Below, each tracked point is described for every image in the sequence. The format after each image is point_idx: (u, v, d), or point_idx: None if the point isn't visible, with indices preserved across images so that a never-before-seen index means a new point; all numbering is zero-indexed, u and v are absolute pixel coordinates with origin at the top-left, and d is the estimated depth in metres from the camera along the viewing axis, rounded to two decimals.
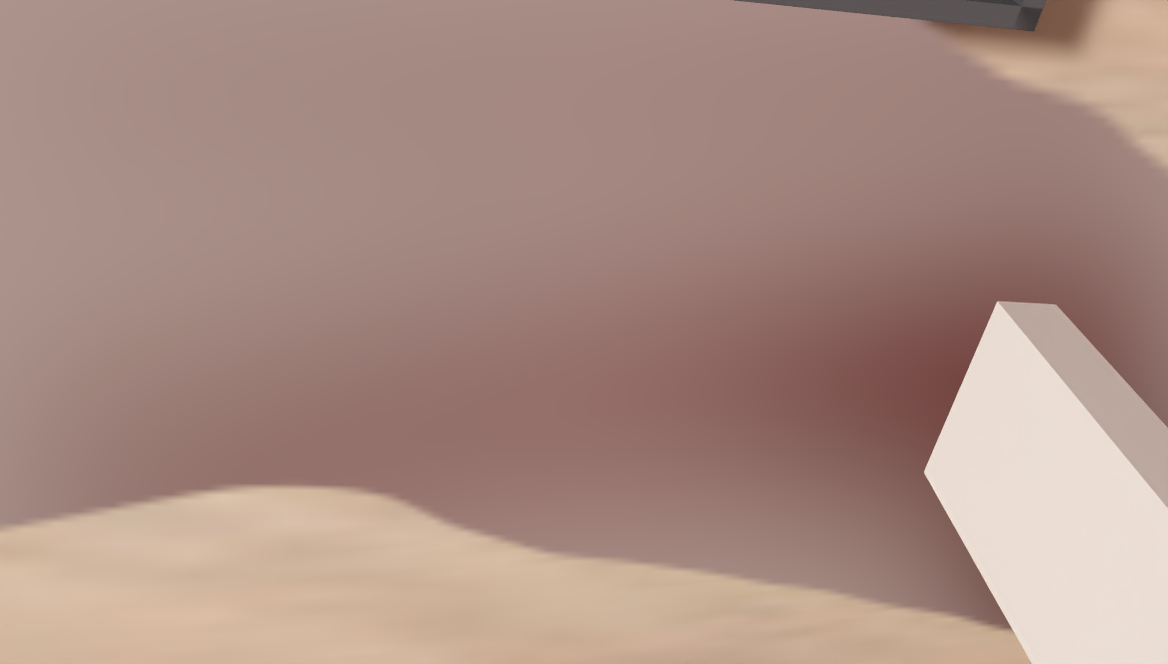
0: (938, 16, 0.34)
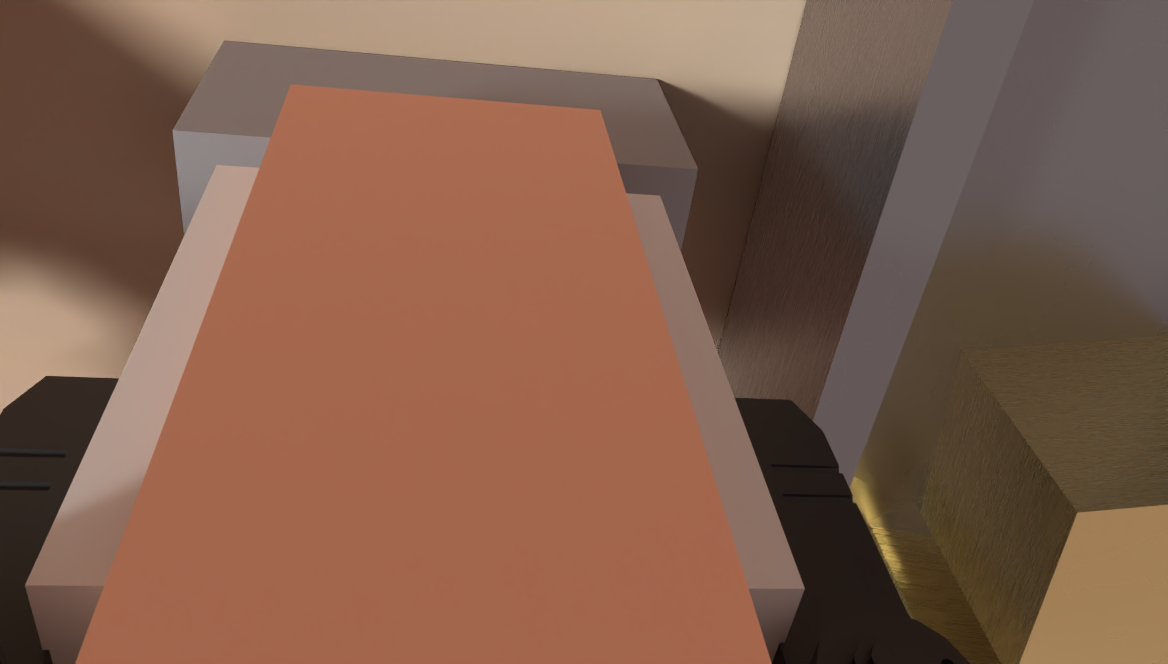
0: None
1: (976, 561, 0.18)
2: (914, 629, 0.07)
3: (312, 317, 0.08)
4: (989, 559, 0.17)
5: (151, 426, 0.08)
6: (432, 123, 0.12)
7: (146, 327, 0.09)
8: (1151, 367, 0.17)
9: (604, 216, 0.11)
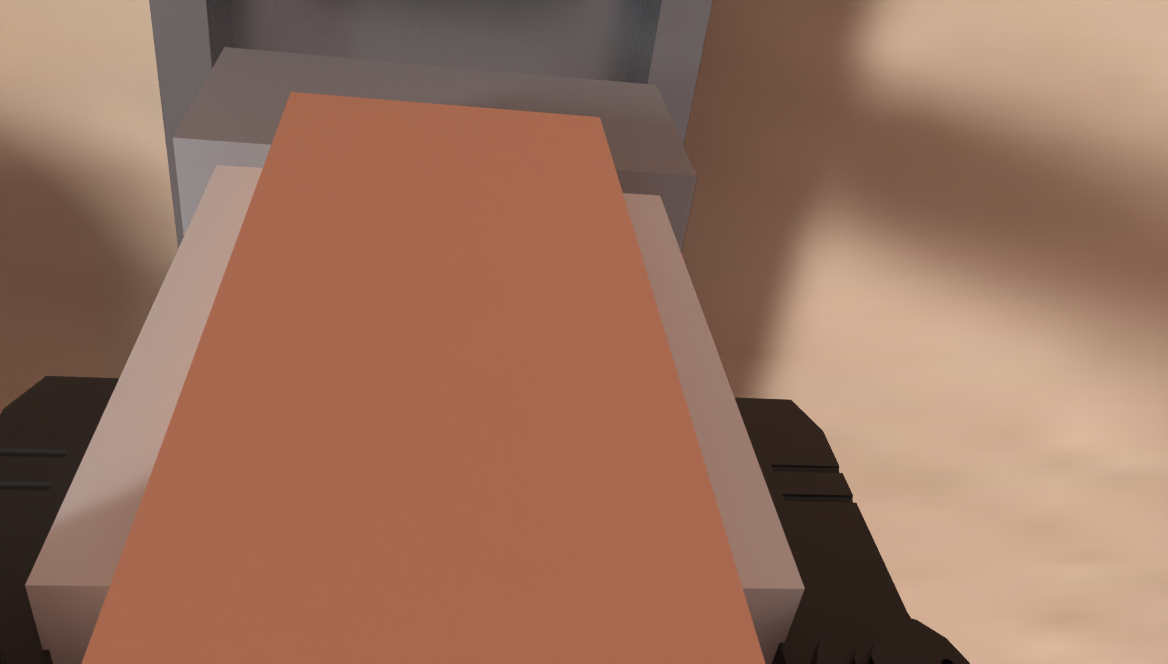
0: None
1: None
2: (914, 629, 0.07)
3: (312, 328, 0.08)
4: None
5: (151, 426, 0.08)
6: (432, 131, 0.12)
7: (146, 328, 0.09)
8: None
9: (603, 225, 0.11)
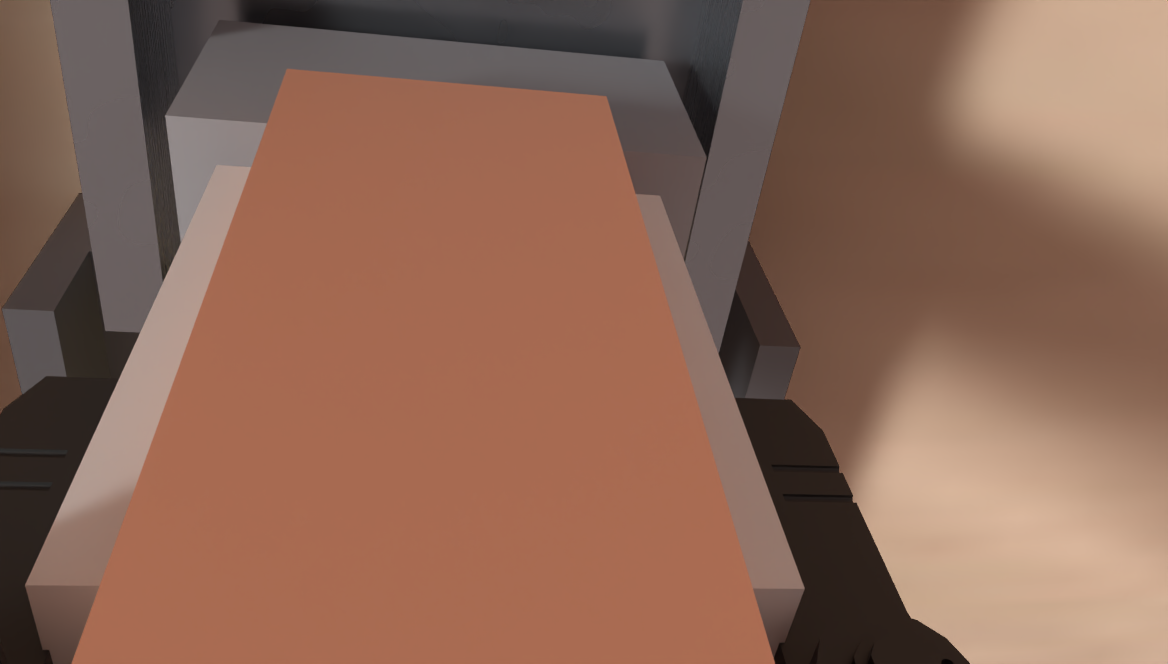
0: None
1: None
2: (914, 629, 0.07)
3: (308, 322, 0.08)
4: None
5: (152, 426, 0.08)
6: (433, 110, 0.12)
7: (146, 327, 0.09)
8: None
9: (610, 211, 0.10)
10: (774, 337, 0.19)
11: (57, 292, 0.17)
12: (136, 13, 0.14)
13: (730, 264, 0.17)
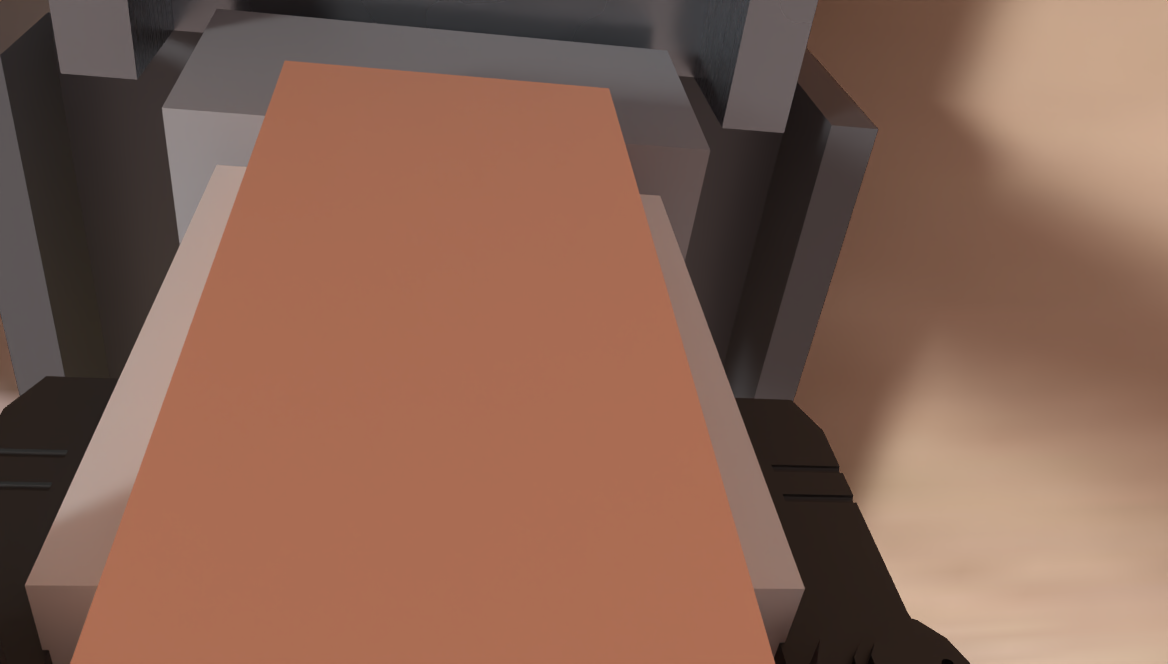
0: None
1: None
2: (914, 630, 0.07)
3: (306, 323, 0.08)
4: None
5: (151, 426, 0.08)
6: (433, 104, 0.12)
7: (146, 327, 0.09)
8: None
9: (613, 207, 0.10)
10: (847, 120, 0.16)
11: (6, 41, 0.14)
12: None
13: (804, 1, 0.14)
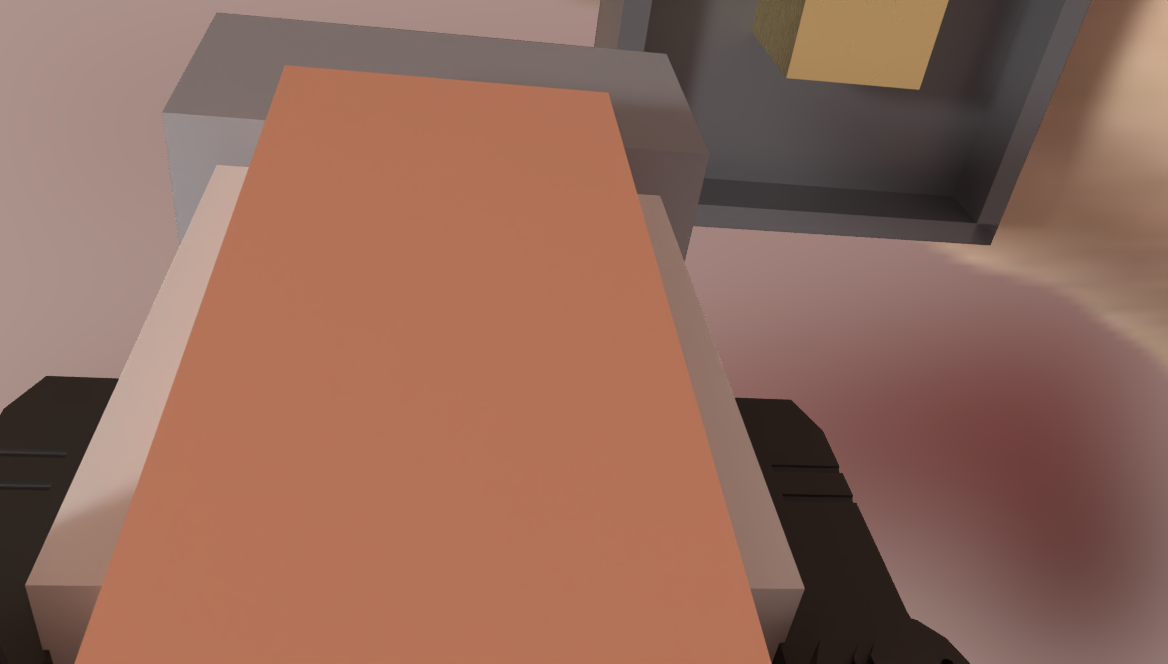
0: (891, 234, 0.34)
1: None
2: (914, 629, 0.07)
3: (306, 329, 0.08)
4: None
5: (152, 426, 0.08)
6: (432, 108, 0.12)
7: (146, 328, 0.09)
8: None
9: (612, 213, 0.10)
10: None
11: None
12: None
13: None
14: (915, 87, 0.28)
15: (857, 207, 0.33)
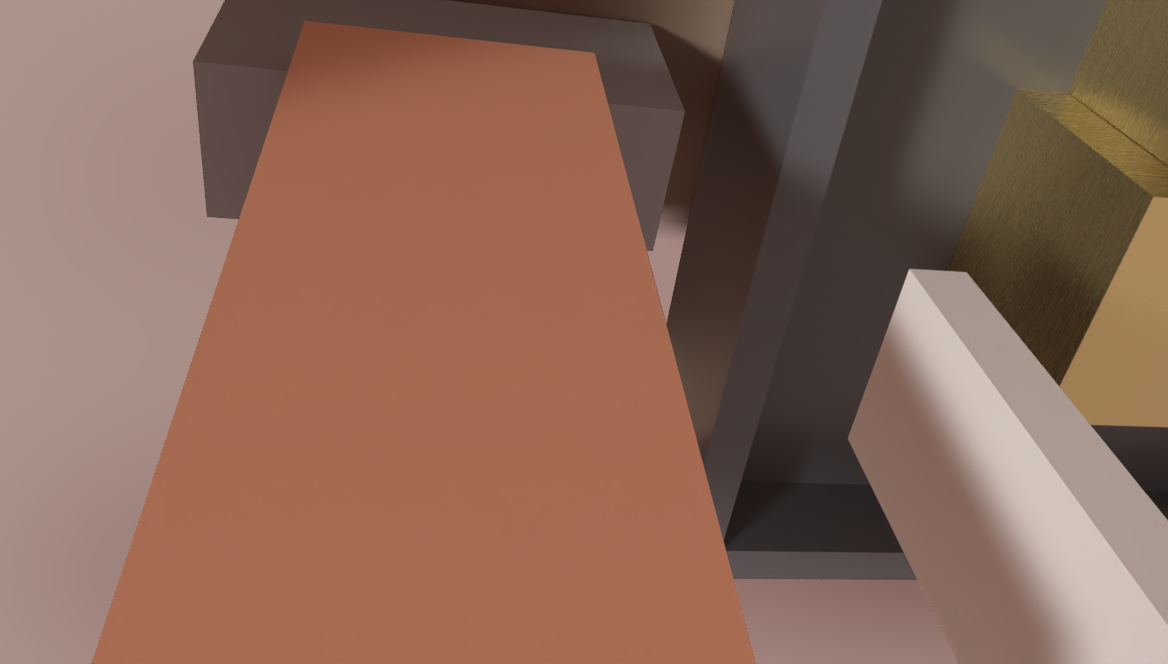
0: None
1: None
2: None
3: (330, 235, 0.09)
4: None
5: None
6: (437, 61, 0.13)
7: None
8: None
9: (594, 152, 0.12)
10: None
11: None
12: None
13: None
14: None
15: None
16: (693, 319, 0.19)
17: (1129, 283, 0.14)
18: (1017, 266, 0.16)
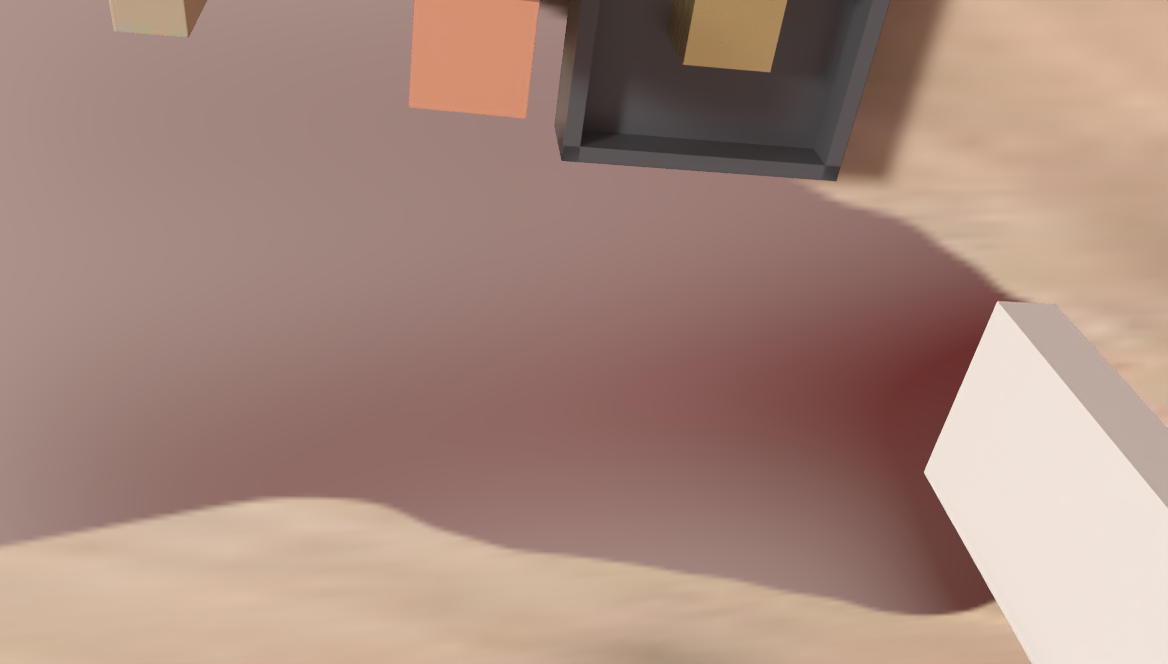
0: (766, 172, 0.49)
1: None
2: None
3: None
4: None
5: None
6: None
7: None
8: None
9: None
10: None
11: None
12: None
13: None
14: (767, 70, 0.44)
15: (743, 154, 0.49)
16: (568, 50, 0.47)
17: (701, 5, 0.42)
18: (680, 12, 0.44)
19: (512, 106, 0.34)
